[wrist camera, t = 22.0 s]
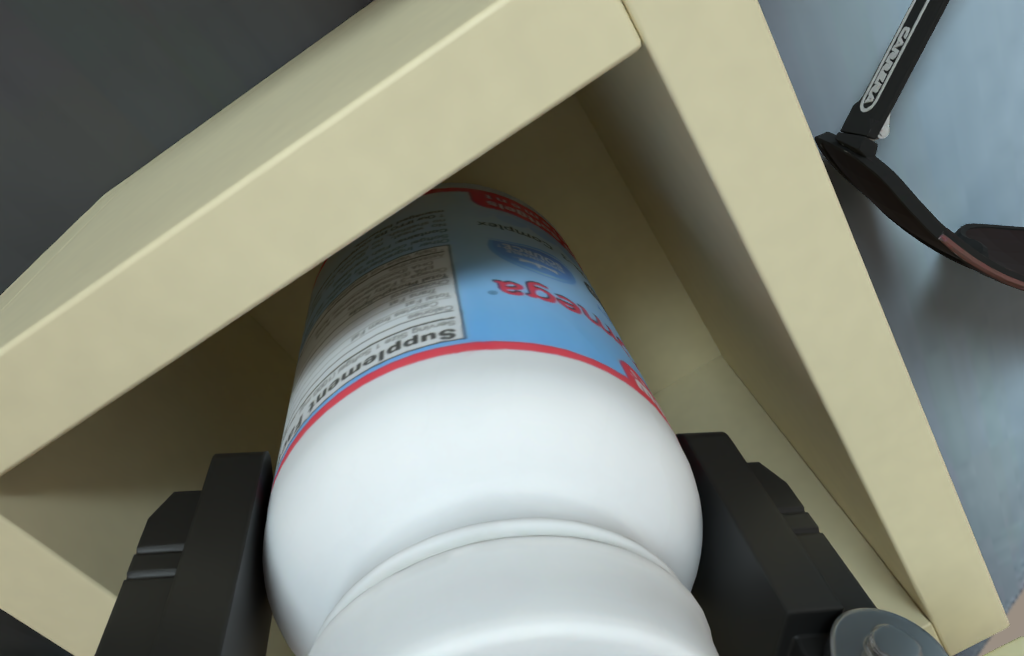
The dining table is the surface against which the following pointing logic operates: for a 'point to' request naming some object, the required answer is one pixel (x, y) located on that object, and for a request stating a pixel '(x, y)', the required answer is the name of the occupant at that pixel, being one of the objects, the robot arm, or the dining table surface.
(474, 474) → the pill bottle
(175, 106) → the dining table surface
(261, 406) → the foam box
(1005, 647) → the lid
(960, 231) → the sunglasses
